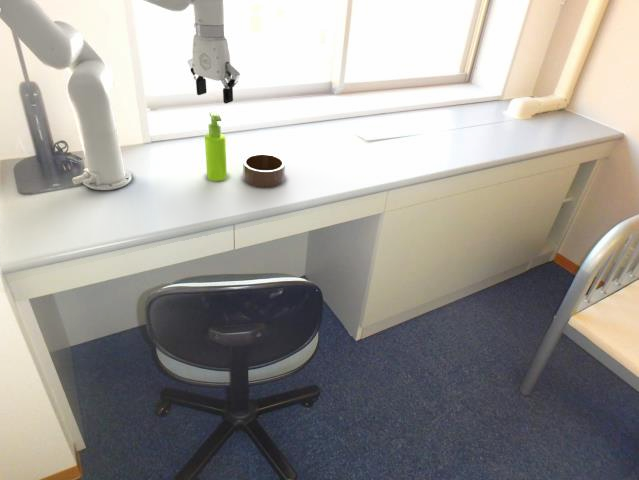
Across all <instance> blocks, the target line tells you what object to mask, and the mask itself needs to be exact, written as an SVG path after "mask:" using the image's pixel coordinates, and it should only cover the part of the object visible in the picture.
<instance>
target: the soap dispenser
mask: <svg viewBox="0 0 639 480" xmlns="http://www.w3.org/2000/svg"><path fill="white" fill-rule="evenodd" d="M208 115H209V116H210V123H209V124H208V133H207V134H205V135H204V144H205V147H204V148H205V163H206V164H205V165H206V177H207V180H209V181H212V182H222V181H224V180H226V179H227V177H228V173H227V172H228V171H227V147H226V146H227V144H226V135H225V134H223V133H222V129H221V124H220V123H219V122H221V121H222V118H221V116H220V115H219V114H218V113H217V112H209V114H208Z"/></svg>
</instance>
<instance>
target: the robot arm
mask: <svg viewBox="0 0 639 480" xmlns="http://www.w3.org/2000/svg"><path fill="white" fill-rule="evenodd" d="M143 1H145V2H146V3H149V4H153V5H154V6H157V7H160V8H163V9H165V10H167V11H171V12H182V11H185V10H187V9H188V8H189V7H190V5H193V12H194V24H193V27H194V29H195V34H194V35H193V40H192V58H191V59H188V60H187V64H188V67H189V69H190V73H191V74H192V76H193V79H194V81H195V87H196V88H195V89H196V95H197V96H201V95H205V94H207V80H206V79H209V80H213V81H218V82H219V81H220V83H222V85H223V87H224V88H222V98H223V103H224V104H229V103H232V102H233V101H234V89H233V88H234V87H235V86H236V85H237V84H238V80H239V79H240V76H241V74H240V72H239V71H238V70H237V69H236V68H235V67H234V66H232V65H233V64H232V54H231V49H230V43H229V39H228V38H227V23H226V19H227V17H226V0H143ZM0 8H1V12H0V20H2V22H4V24H5V25H6V26H7V27H8V28H9V29H10V30H11V31H12V33H14V35H15V36H16V37H17V38H18V39H19V40H20V41H21V42H22V43H23V44H24V45H25V46H26V47H27V48H28V49H29V51H30V52H31V53H32V54H33V55H34V56H35V57H36V58H37V59H38V60H39V61H40V62H41V63H42V65H44V66H46V67H47V68H49V69H51V70H55V71H63V70H65V71H67V72H68V73H69V74H70V75H69V76H68V78H67V83H66V94H67V99H68V101H69V105H70V107H71V109H72V112H73V116H74V119H75V123H76V127H77V132H78V136H79V140H80V144H81V147H82V152H83V156H84V157H83V158H84V161H85V165H86V168H83V172H82V173H81V174H80V175H78V176H74V177H72V178H71V181H72V183H73V184H74V185H75V186H76V185H79V184H81V183H82V184H83V185H84V186H86V187H87V188H89V189H92V190H95V191H112V190H113V191H114V190H118V189H120V188H123V187H125V186H126V185H128V184H130V182H131V181H132V174H131V172H130V171H129V170H128V169H125V166H124V160H123V154H122V148H121V145H120V143H121V142H120V138H119V133H118V127H117V122H116V116H115V113H114V108H113V106H112V102H111V92H112V89H113V87H114V84H115V79H114V73H113V71H112V70H111V68H110V66H109V65H108V64H107V62H106V61H105V60H104V58H103V57H102V56H101V55H100V54H99V53H98V52H97V50H96V49H94V47H93V46H92V45H91V43H89V41H88V40H87V39H86V37H84V36H83V34H82V33H81V32H80V31H79V30H78V29H76V28H75V27H74V26H73V25H71V24H69V23H67V22H66V21H65V22H64V21H61V20H53V19H52V18H51V17H50V16H49V15H48V14H47V13H46V12H45V11H44V9H43V8H42V7H41V6H40V4H39V3H38V2H37V1H36V0H0Z"/></svg>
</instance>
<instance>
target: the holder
mask: <svg viewBox="0 0 639 480" xmlns="http://www.w3.org/2000/svg"><path fill="white" fill-rule="evenodd" d="M242 166H243V167H242V171H243V172H242V173H243V174H242V175H243V176H242V177H243V181H244V182H245V183H246V184H247V185H249V186H251V187H254V188H258V189H259V188H260V189H271V188H276V187H278V186H281V185H282V184H283V183H284V181H285V171H286V170H285V169H286V162H285V161H284V159H283V158H282V157H280V156H277V155H274V154H270V153H255V154H250V155H249V156H246V157H245V158H244V159H243V163H242Z"/></svg>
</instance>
